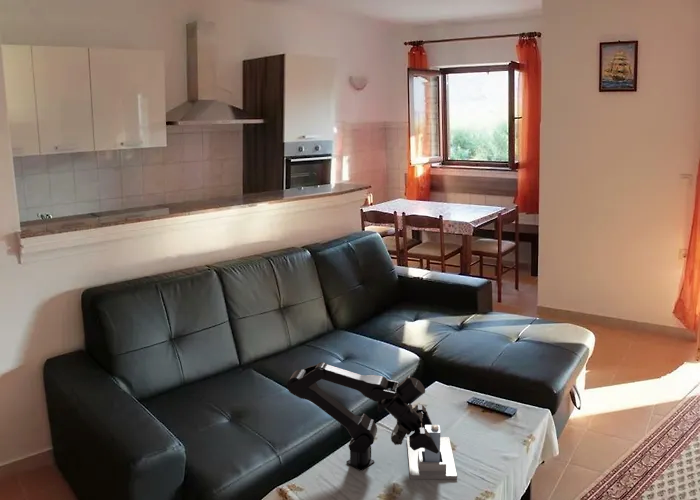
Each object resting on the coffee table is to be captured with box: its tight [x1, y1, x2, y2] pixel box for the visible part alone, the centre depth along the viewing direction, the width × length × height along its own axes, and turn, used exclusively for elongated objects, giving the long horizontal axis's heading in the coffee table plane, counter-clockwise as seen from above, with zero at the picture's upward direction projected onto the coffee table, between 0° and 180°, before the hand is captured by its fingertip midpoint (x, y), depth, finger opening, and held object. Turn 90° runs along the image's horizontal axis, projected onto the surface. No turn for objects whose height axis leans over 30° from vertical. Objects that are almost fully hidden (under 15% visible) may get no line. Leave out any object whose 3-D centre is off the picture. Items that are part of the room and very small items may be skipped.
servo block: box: [424, 424, 441, 462], centre depth 200 cm, size 4×4×13 cm
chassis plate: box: [406, 436, 458, 480], centre depth 206 cm, size 22×14×4 cm, turn 178°
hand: (436, 444), depth 199 cm, fingers open, 9 cm apart
